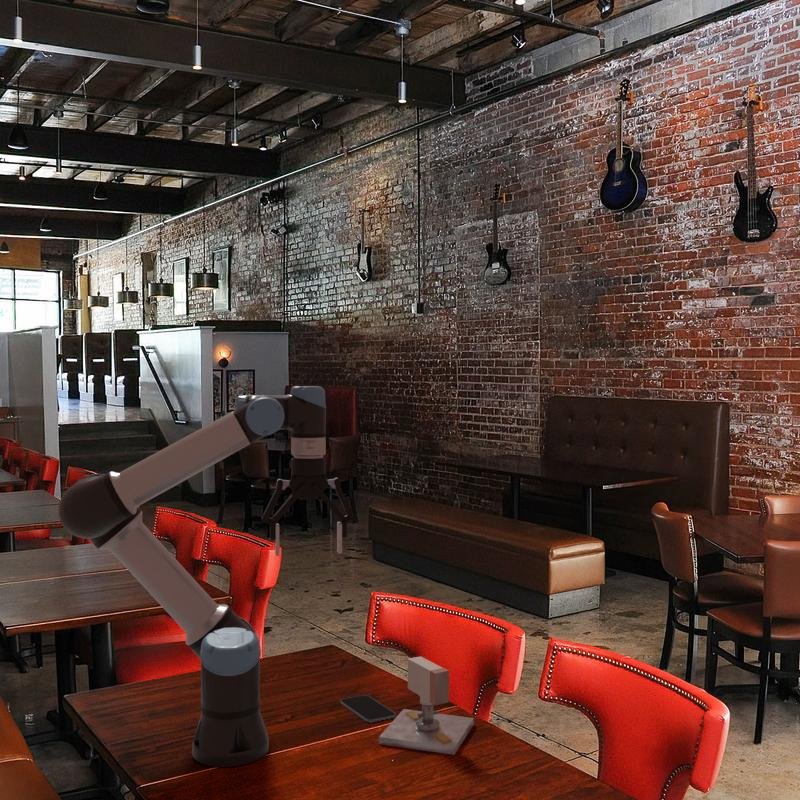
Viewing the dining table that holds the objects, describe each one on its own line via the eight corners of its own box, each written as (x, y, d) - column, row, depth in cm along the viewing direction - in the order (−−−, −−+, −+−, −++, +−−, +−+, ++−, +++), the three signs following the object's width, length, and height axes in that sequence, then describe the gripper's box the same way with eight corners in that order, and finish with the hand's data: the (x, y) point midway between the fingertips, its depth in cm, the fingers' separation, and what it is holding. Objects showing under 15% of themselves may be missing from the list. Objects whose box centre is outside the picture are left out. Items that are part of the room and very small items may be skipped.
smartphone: (366, 694, 208) (397, 714, 195) (366, 698, 208) (397, 718, 195) (338, 699, 204) (368, 720, 191) (338, 703, 204) (368, 725, 191)
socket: (454, 754, 176) (454, 722, 175) (379, 744, 181) (379, 712, 180) (473, 724, 191) (473, 695, 190) (403, 715, 196) (403, 686, 196)
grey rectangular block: (407, 695, 189) (407, 658, 189) (420, 692, 191) (420, 655, 191) (435, 712, 180) (435, 673, 180) (448, 709, 182) (449, 670, 181)
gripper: (251, 459, 186) (251, 559, 186) (367, 457, 191) (367, 554, 191) (250, 456, 193) (250, 552, 194) (362, 454, 198) (362, 548, 199)
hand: (308, 553), depth 192 cm, fingers open, 13 cm apart
